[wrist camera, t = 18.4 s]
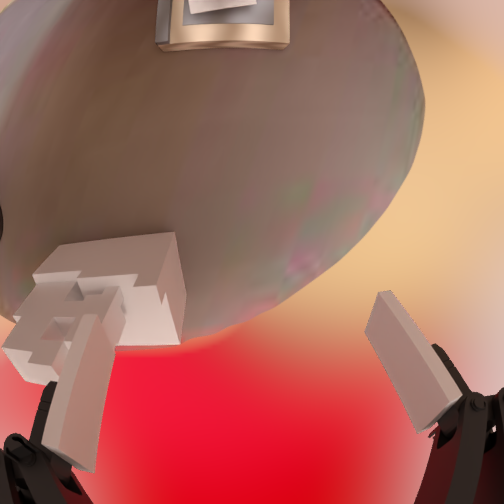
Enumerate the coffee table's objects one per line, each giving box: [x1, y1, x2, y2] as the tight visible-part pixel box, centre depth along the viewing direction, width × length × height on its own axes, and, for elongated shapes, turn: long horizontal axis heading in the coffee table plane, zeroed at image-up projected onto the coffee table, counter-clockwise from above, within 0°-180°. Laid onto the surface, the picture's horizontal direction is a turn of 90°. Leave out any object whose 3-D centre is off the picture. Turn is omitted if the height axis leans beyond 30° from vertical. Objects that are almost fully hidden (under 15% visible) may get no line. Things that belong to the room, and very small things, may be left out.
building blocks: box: [2, 232, 187, 385], centre depth 32 cm, size 22×12×25 cm, turn 93°
